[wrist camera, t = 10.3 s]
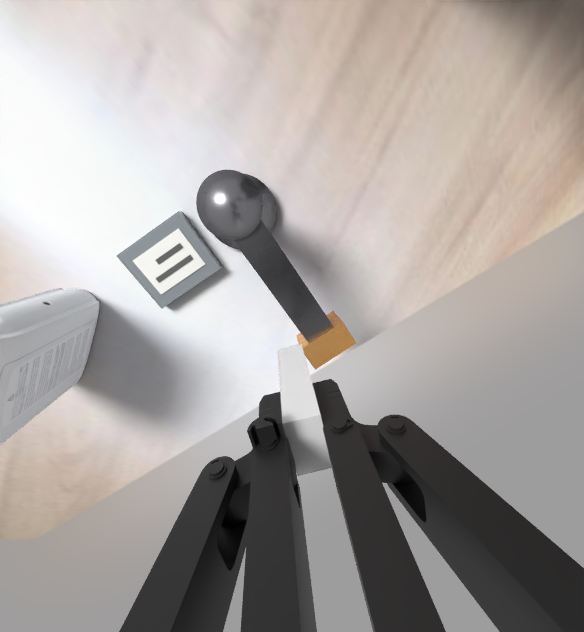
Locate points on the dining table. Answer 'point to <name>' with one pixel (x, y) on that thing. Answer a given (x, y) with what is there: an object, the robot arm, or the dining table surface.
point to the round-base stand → (268, 210)
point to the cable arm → (269, 261)
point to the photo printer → (42, 351)
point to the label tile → (170, 260)
